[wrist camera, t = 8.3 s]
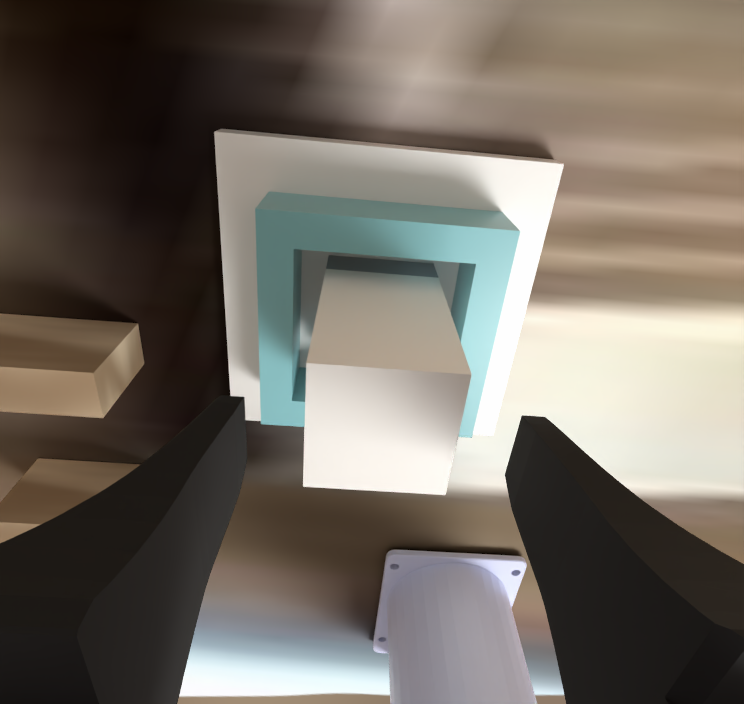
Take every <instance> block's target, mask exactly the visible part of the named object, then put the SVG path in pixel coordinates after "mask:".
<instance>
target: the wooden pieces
mask: <svg viewBox="0 0 744 704" xmlns="http://www.w3.org/2000/svg"><path fill="white" fill-rule="evenodd" d="M143 365H144V358H143V352H142V345H141V339H140V333H139V326H138V323H124V322H110V321H97V320H83V319H69V318H56V317H42V316H28V315H15V314H1V313H0V411H1V412H16V413H32V414H48V415H63V416H79V417H95V418H104V416H105V415H106V414H107V412H108V411H109V410H110V408H111V407H112V406H113V404H114V403H115V402H116V400H117V399H118V398H119V397H120V395H121V394H122V393H123V391H124V390H125V389H126V387H127V386H128V385H129V383H130V382H131V381H132V379H133V378H134V377H135V375H136V374H137V373H138V371H139V370H140V369H141V367H142V366H143ZM139 465H141V464H125V463H108V462H91V461H74V460H58V459H41V458H38V459H37V460H36V461H35V462H34V464H33V465H32V466H31V467H30V468H29V470H28V471H27V472H26V473H25V474H24V475H23V477H22V478H21V479H20V480H19V481H18V483H17V484H16V485H15V486H14V487H13V488H12V490H11V491H10V492H9V493H8V494H7V495H6V497H5V498H4V499H3V500H2V501H1V503H0V543H2V542H4V541H6V540H9V539H11V538H13V537H15V536H17V535H20V534H22V533H24V532H26V531H28V530H30V529H32V528H35V527H37V526H39V525H41V524H43V523H45V522H47V521H49V520H51V519H53V518H55V517H57V516H59V515H60V514H62V513H64V512H66V511H68V510H69V509H71V508H73V507H75V506H76V505H78V504H80V503H82V502H83V501H85V500H87V499H89V498H91V497H92V496H94V495H96V494H98V493H99V492H101V491H102V490H104V489H106V488H107V487H109V486H110V485H112V484H113V483H115V482H116V481H118V480H119V479H121V478H122V477H124V476H125V475H127V474H128V473H130V472H131V471H133V470H134V469H135V468H137V467H138V466H139Z"/></svg>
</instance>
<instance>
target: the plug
mask: <svg viewBox="0 0 744 704" xmlns="http://www.w3.org/2000/svg"><path fill="white" fill-rule="evenodd" d="M471 376H472V374H471V371H470V368H469V365H468V362H467V359H466V356H465V354H464V351H463V348H462V345H461V342H460V339H459V336H458V333H457V330H456V327H455V324H454V321H453V318H452V316H451V313H450V310H449V307H448V304H447V301H446V298H445V295H444V292H443V289H442V286H441V283H440V281H439V278H438V275H437V272H436V269H435V266H434V263H421V262H409V261H397V260H385V259H372V258H360V257H348V256H335V255H329V256H328V261H327V266H326V271H325V276H324V280H323V285H322V290H321V295H320V300H319V304H318V309H317V314H316V319H315V324H314V328H313V333H312V338H311V343H310V348H309V352H308V357H307V362H306V393H305V430H304V468H303V487H317V488H334V489H351V490H368V491H386V492H403V493H420V494H437V495H446V491H447V486H448V482H449V477H450V472H451V468H452V463H453V459H454V454H455V449H456V445H457V440H458V436H459V431H460V426H461V422H462V417H463V413H464V408H465V403H466V399H467V394H468V390H469V385H470V380H471Z"/></svg>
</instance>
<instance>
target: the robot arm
mask: <svg viewBox="0 0 744 704" xmlns="http://www.w3.org/2000/svg"><path fill="white" fill-rule="evenodd" d="M246 462H247V442H246V419H245V397H239V396H224V395H220V396H219V397H218V398H216V399H215V400H214V401H213V402H212V403H211V404H210V405H209V406H208V407H207V408H206V409H205V410H204V411H203V412H201V413H200V414H199V415H198V416H197V417H196V418H195V419H194V420H193V421H192V422H191V423H190V424H189V425H187V426H186V427H185V428H184V429H183V430H182V431H181V432H180V433H178V434H177V435H176V436H175V437H174V438H173V439H172V440H170V441H169V442H168V443H167V444H166V445H165V446H163V447H162V448H161V449H160V450H158V451H157V452H156V453H155V454H153V455H152V456H151V457H150V458H148V459H147V460H146V461H144V462H143V463H142V464H141V465H139V466H138V467H137V468H135V469H134V470H133V471H131V472H130V473H128V474H127V475H125V476H124V477H122V478H121V479H119V480H118V481H116V482H115V483H113V484H112V485H110V486H109V487H107V488H106V489H104V490H102V491H101V492H99V493H98V494H96V495H94V496H92V497H91V498H89V499H87V500H85V501H83V502H82V503H80V504H78V505H76V506H75V507H73V508H71V509H69V510H68V511H66V512H64V513H62V514H60V515H59V516H57V517H55V518H53V519H51V520H49V521H47V522H45V523H43V524H41V525H39V526H37V527H35V528H32V529H30V530H28V531H26V532H24V533H22V534H20V535H17V536H15V537H13V538H11V539H9V540H6V541H4V542H2V543H0V704H177V702H178V698H179V694H180V689H181V685H182V680H183V676H184V672H185V668H186V663H187V659H188V655H189V651H190V647H191V643H192V639H193V635H194V631H195V627H196V623H197V619H198V615H199V611H200V607H201V603H202V600H203V596H204V592H205V588H206V585H207V582H208V579H209V576H210V573H211V570H212V567H213V564H214V562H215V559H216V556H217V554H218V551H219V548H220V545H221V543H222V540H223V537H224V535H225V532H226V529H227V526H228V524H229V521H230V518H231V515H232V513H233V510H234V507H235V504H236V502H237V499H238V496H239V493H240V489H241V484H242V480H243V476H244V471H245V467H246ZM505 477H506V483H507V488H508V493H509V498H510V503H511V507H512V511H513V514H514V517H515V520H516V523H517V526H518V529H519V532H520V535H521V538H522V541H523V543H524V546H525V549H526V552H527V555H528V558H529V560H530V563H531V566H532V569H533V572H534V575H535V578H536V580H537V583H538V586H539V589H540V592H541V596H542V599H543V602H544V605H545V609H546V613H547V618H548V622H549V626H550V630H551V634H552V639H553V643H554V647H555V652H556V656H557V661H558V666H559V670H560V675H561V680H562V684H563V689H564V694H565V700H566V704H744V564H742V563H741V562H739V561H737V560H735V559H733V558H732V557H730V556H728V555H726V554H724V553H723V552H721V551H719V550H718V549H716V548H714V547H713V546H711V545H709V544H708V543H706V542H704V541H702V540H701V539H699V538H697V537H696V536H694V535H693V534H691V533H689V532H688V531H686V530H685V529H683V528H682V527H680V526H678V525H677V524H675V523H674V522H673V521H671V520H670V519H668V518H667V517H665V516H664V515H662V514H661V513H660V512H658V511H657V510H655V509H654V508H652V507H651V506H650V505H648V504H647V503H645V502H644V501H643V500H641V499H640V498H639V497H637V496H636V495H635V494H634V493H632V492H631V491H630V490H629V489H627V488H626V487H625V486H624V485H622V484H621V483H620V482H619V481H617V480H616V479H615V478H614V477H613V476H611V475H610V474H609V473H608V472H607V471H605V470H604V469H603V468H602V467H601V466H600V465H598V464H597V463H596V462H595V461H594V460H593V459H592V458H590V457H589V456H588V455H587V454H586V453H585V452H584V451H583V450H582V449H580V448H579V447H578V446H577V445H576V444H575V443H574V442H573V441H572V440H571V439H569V438H568V437H567V436H566V435H565V434H564V433H563V432H562V431H561V430H559V429H558V428H557V427H556V426H555V425H554V424H553V423H551V422H550V421H549V420H548V419H547V418H545V417H536V416H522V417H521V421H520V424H519V428H518V431H517V435H516V438H515V442H514V445H513V449H512V452H511V455H510V459H509V462H508V466H507V469H506V473H505ZM525 569H526V561H525V559H524V558H523V557H521V556H510V555H491V554H472V553H453V552H434V551H415V550H391V551H389V552H388V553H387V554H386V560H385V566H384V573H383V580H382V586H381V593H380V600H379V606H378V613H377V620H376V626H375V633H374V640H373V650H374V651H376V652H379V653H389V675H390V703H391V704H537V702H536V698H535V695H534V691H533V687H532V683H531V680H530V676H529V672H528V668H527V665H526V661H525V657H524V653H523V650H522V646H521V642H520V638H519V635H518V631H517V627H516V623H515V620H514V616H513V612H512V609H511V608H512V605H513V603H514V600H515V597H516V594H517V591H518V589H519V586H520V583H521V580H522V578H523V575H524V572H525Z"/></svg>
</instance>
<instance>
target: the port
mask: <svg viewBox="0 0 744 704" xmlns="http://www.w3.org/2000/svg"><path fill="white" fill-rule="evenodd" d="M214 137H215V154H216V170H217V186H218V202H219V218H220V235H221V251H222V267H223V283H224V299H225V315H226V332H227V348H228V364H229V380H230V396H239V397H245V419H246V420H252V421H261V424H268V425H283V426H299V427H305V393H306V362H307V357H308V352H309V348H310V343H311V338H312V333H313V328H314V324H315V319H316V314H317V309H318V304H319V300H320V295H321V290H322V285H323V280H324V276H325V271H326V266H327V261H328V256H329V255H335V256H348V257H360V258H372V259H385V260H397V261H409V262H421V263H434V266H435V269H436V272H437V275H438V278H439V281H440V283H441V286H442V289H443V292H444V295H445V298H446V301H447V304H448V307H449V310H450V313H451V316H452V318H453V321H454V324H455V327H456V330H457V333H458V336H459V339H460V342H461V345H462V348H463V351H464V354H465V356H466V359H467V362H468V365H469V368H470V371H471V374H472V376H471V380H470V385H469V390H468V394H467V399H466V403H465V408H464V413H463V417H462V422H461V426H460V431H459V436H458V437H470V438H472V435H485V436H493V435H494V431H495V427H496V423H497V419H498V416H499V412H500V408H501V404H502V400H503V396H504V393H505V389H506V385H507V381H508V377H509V373H510V370H511V366H512V362H513V358H514V354H515V350H516V347H517V343H518V339H519V335H520V331H521V327H522V324H523V320H524V316H525V312H526V308H527V304H528V301H529V297H530V293H531V289H532V285H533V281H534V278H535V274H536V270H537V266H538V262H539V258H540V255H541V251H542V247H543V243H544V239H545V235H546V232H547V228H548V224H549V220H550V216H551V212H552V209H553V205H554V201H555V197H556V193H557V189H558V186H559V182H560V178H561V174H562V170H563V166H564V164H563V163H561V162H559V161H557V160H554V159H543V158H532V157H521V156H511V155H500V154H489V153H478V152H468V151H457V150H446V149H435V148H425V147H414V146H403V145H392V144H382V143H371V142H360V141H349V140H339V139H328V138H317V137H306V136H296V135H285V134H274V133H263V132H253V131H242V130H231V129H220V130H217V131H215V132H214Z"/></svg>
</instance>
